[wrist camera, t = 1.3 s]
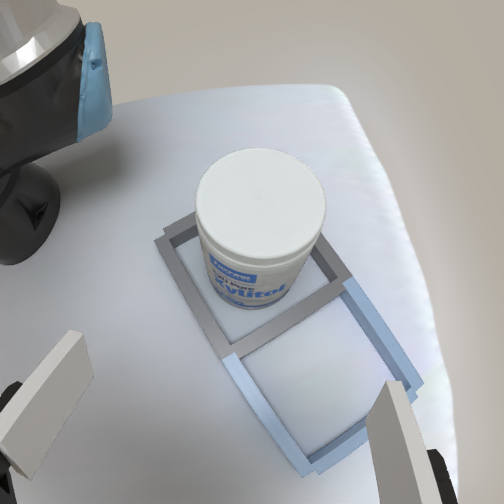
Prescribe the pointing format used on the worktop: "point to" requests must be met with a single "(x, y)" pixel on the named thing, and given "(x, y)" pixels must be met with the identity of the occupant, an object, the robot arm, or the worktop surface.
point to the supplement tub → (257, 223)
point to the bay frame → (233, 353)
